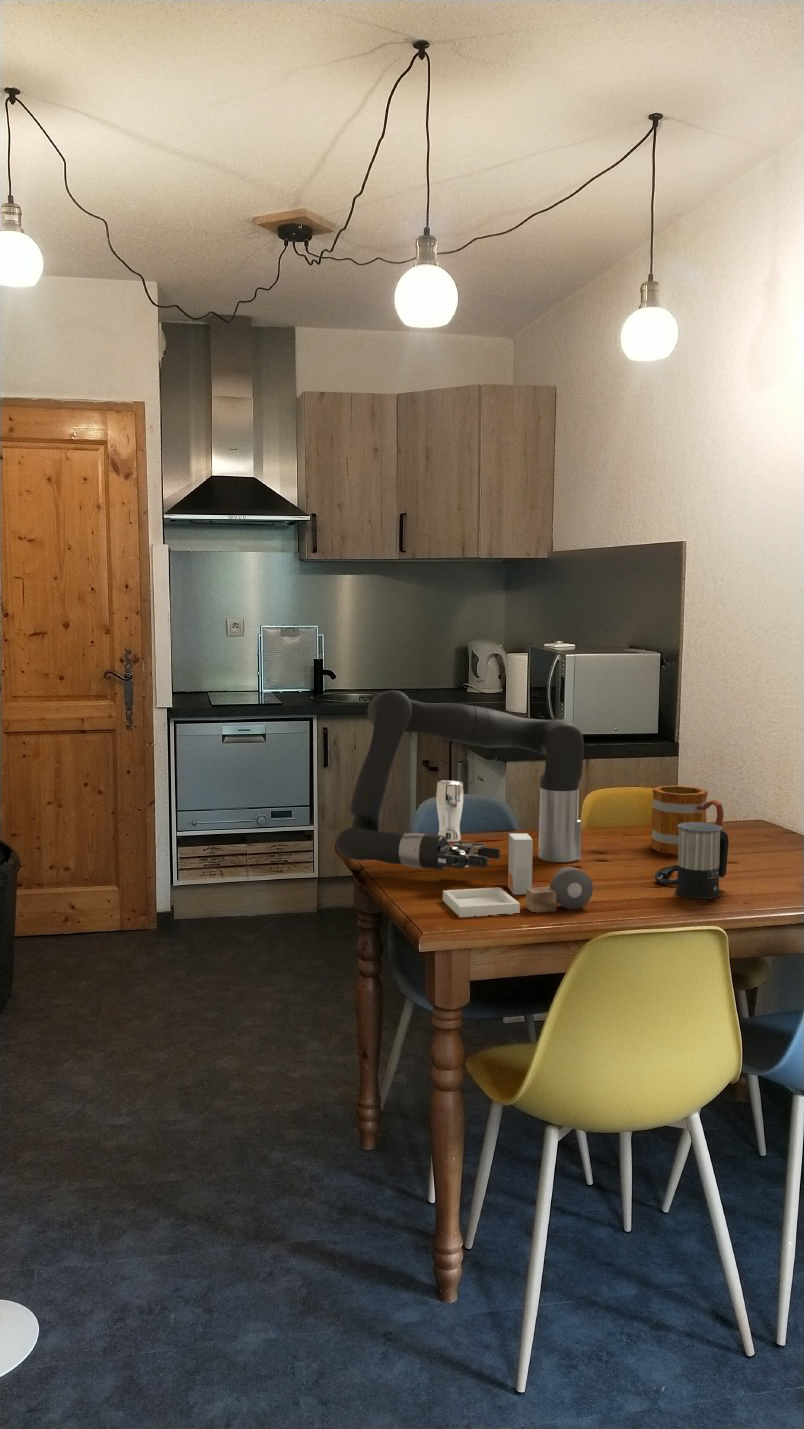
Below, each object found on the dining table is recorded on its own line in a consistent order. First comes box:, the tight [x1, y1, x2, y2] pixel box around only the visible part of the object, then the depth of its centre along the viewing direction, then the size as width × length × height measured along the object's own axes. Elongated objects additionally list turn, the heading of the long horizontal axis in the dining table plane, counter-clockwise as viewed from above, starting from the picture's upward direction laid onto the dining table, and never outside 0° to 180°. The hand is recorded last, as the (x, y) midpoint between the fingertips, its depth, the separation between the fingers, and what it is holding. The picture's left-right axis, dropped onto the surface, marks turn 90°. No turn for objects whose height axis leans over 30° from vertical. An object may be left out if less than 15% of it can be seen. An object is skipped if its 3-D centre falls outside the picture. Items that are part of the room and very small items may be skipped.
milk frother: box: [654, 822, 729, 900], centre depth 237 cm, size 14×16×15 cm
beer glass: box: [435, 779, 464, 843], centre depth 284 cm, size 7×7×15 cm
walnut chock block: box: [525, 886, 557, 913], centre depth 222 cm, size 5×4×4 cm
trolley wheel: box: [549, 866, 594, 910], centre depth 223 cm, size 8×4×8 cm, turn 104°
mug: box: [650, 785, 724, 856], centre depth 273 cm, size 20×14×15 cm
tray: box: [442, 886, 521, 918], centre depth 223 cm, size 12×12×2 cm
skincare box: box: [507, 832, 534, 896], centre depth 235 cm, size 6×4×12 cm
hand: (493, 857), depth 237 cm, fingers open, 8 cm apart
